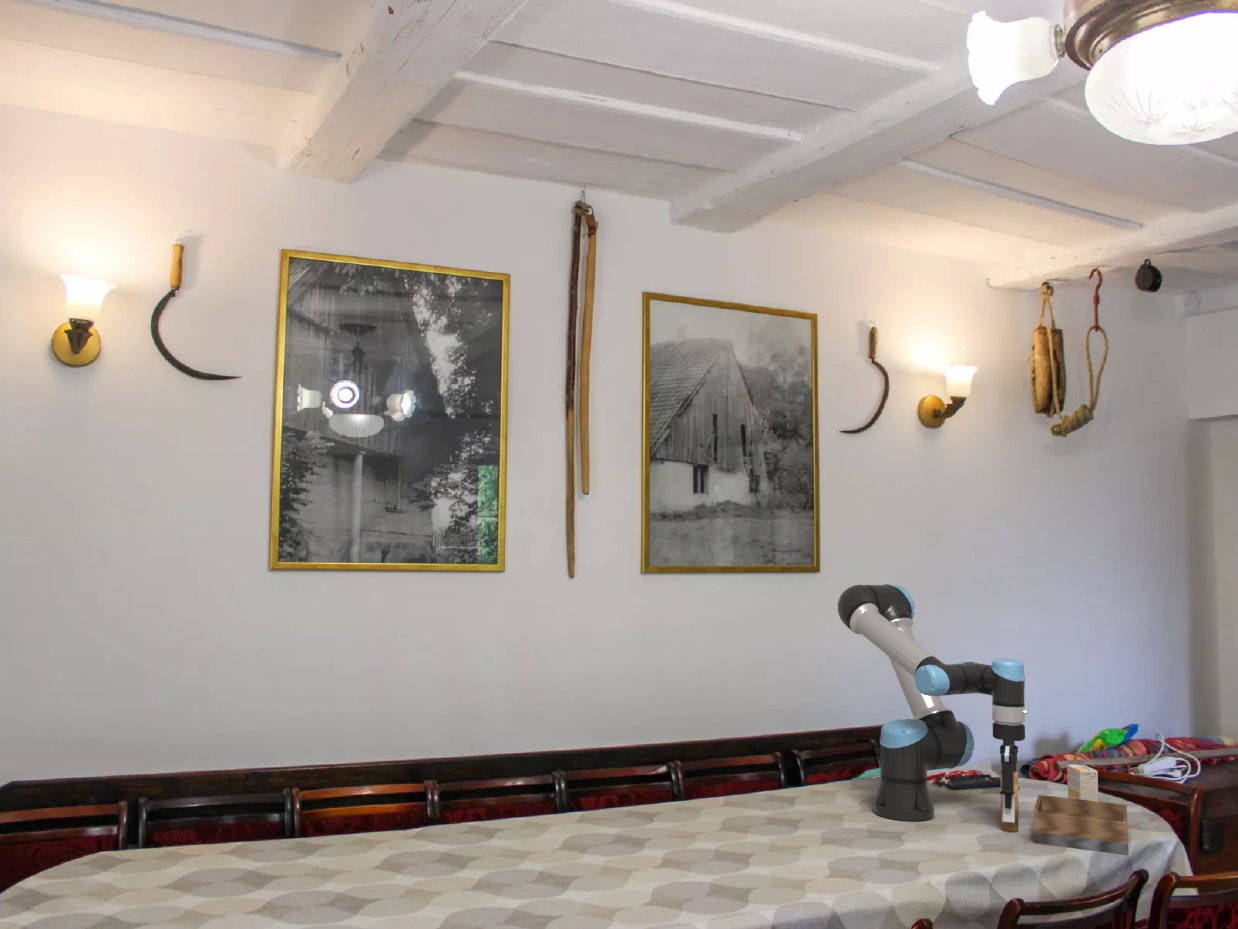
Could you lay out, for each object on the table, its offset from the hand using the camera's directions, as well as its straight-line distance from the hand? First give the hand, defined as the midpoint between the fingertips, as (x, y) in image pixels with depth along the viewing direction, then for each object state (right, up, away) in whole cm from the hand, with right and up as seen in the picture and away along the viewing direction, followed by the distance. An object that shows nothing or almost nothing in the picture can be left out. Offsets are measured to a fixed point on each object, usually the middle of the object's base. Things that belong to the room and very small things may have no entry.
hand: (1009, 819), depth 255 cm
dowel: (0, -3, 0) cm, 3 cm away
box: (+15, -2, -6) cm, 16 cm away
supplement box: (+23, -4, +12) cm, 27 cm away
